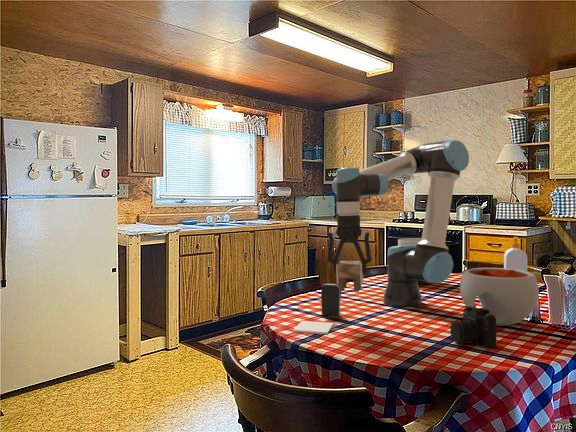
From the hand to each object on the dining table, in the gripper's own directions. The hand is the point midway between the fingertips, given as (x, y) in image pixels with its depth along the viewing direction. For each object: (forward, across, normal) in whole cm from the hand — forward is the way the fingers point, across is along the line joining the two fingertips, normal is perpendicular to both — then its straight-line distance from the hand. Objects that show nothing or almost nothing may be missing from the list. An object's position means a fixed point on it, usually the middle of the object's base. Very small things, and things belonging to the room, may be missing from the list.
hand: (350, 283), depth 153 cm
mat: (+14, +11, +8) cm, 19 cm away
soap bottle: (+16, -66, -84) cm, 108 cm away
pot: (+15, -48, -14) cm, 52 cm away
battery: (+14, +8, -10) cm, 20 cm away
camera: (+15, -36, +10) cm, 40 cm away
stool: (+2, 0, 0) cm, 2 cm away
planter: (+16, -22, -80) cm, 85 cm away
